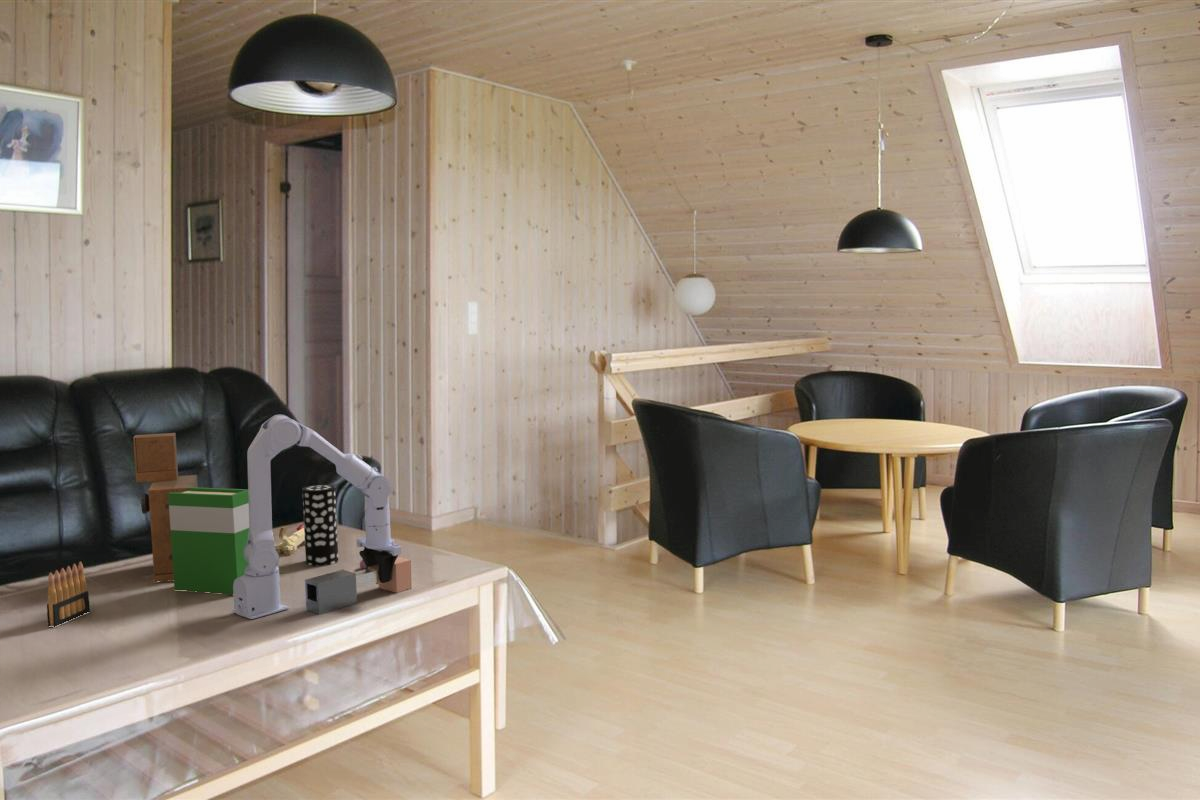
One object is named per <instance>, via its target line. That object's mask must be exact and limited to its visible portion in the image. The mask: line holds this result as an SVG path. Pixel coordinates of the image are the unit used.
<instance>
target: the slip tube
mask: <svg viewBox="0 0 1200 800" xmlns="http://www.w3.org/2000/svg"><path fill="white" fill-rule="evenodd" d="M353 573H356V590H358V589H361V588H365V587H368V586H372V585H379V584H382V583H381V580H380V574H379V567H378V564H377V565H374V566H370V567H368V569H367V568H366V569H362V570H359V571H354V572H353ZM391 577H392V573H391Z"/></svg>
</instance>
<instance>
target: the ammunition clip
mask: <svg viewBox="0 0 1200 800" xmlns="http://www.w3.org/2000/svg"><path fill="white" fill-rule="evenodd" d="M47 584H48V585H47V602H48V603H47V604H46V614H47V615H46V616H47V627H48V626H54V627H55V626H57V625H59V624H62V623H64V622H66V621H69V620H71V619H73V618H76V617H78V616H80V615H83V614H84V613H87V612H90V613H91V607H90V604H91V603H90V596H89V591H88V590H87V580H86V576H85V570H84V566H83V562H82V561H79V562H78V565H76V563H73V564H72V569H71V567H70V565H68V566H67V567H66V570H65V569H64V567H61V569H60V573H59V571H58V570H57V569H55V571H54V575H53V573H52V571H51V572H49V573H48V578H47Z"/></svg>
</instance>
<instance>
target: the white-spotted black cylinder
mask: <svg viewBox="0 0 1200 800" xmlns="http://www.w3.org/2000/svg"><path fill="white" fill-rule="evenodd" d="M301 491H302V492H301V493H302V509H303V510H302V512H303V523H304V525H303V528H304V533H305V541H304V548H305V549H304V550H305V551H304V553H305V565H307V566H310V565H312V566H311V567H324V566H330V564H331V565H333V564H336V563H337V562H339V547H338V545H339V543H338V526H337V525H338V524H337V520H338V519H337V505H336V504H337V502H336V500H337V499H336V486H335V485H332V484H316V485H308V486H304V487H303V488H302V489H301Z"/></svg>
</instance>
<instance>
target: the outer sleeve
mask: <svg viewBox="0 0 1200 800" xmlns="http://www.w3.org/2000/svg"><path fill="white" fill-rule="evenodd" d="M304 585H305V586H304V588H305V607H306V609H305V610H306V611H308V612H311V613H314V614H317V615H323V614H325V613H329V612H332V611H336V610H338V609H342V608H346V607H348V606H352V605H356V604H358V594H357V589H356V573H354V572H351V571H348V570H344V569H341V570H337V571H334V572H333V571H332V572H330V573H325V574H322V575H317V576H314V577H310V578H307V579H305V580H304Z"/></svg>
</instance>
